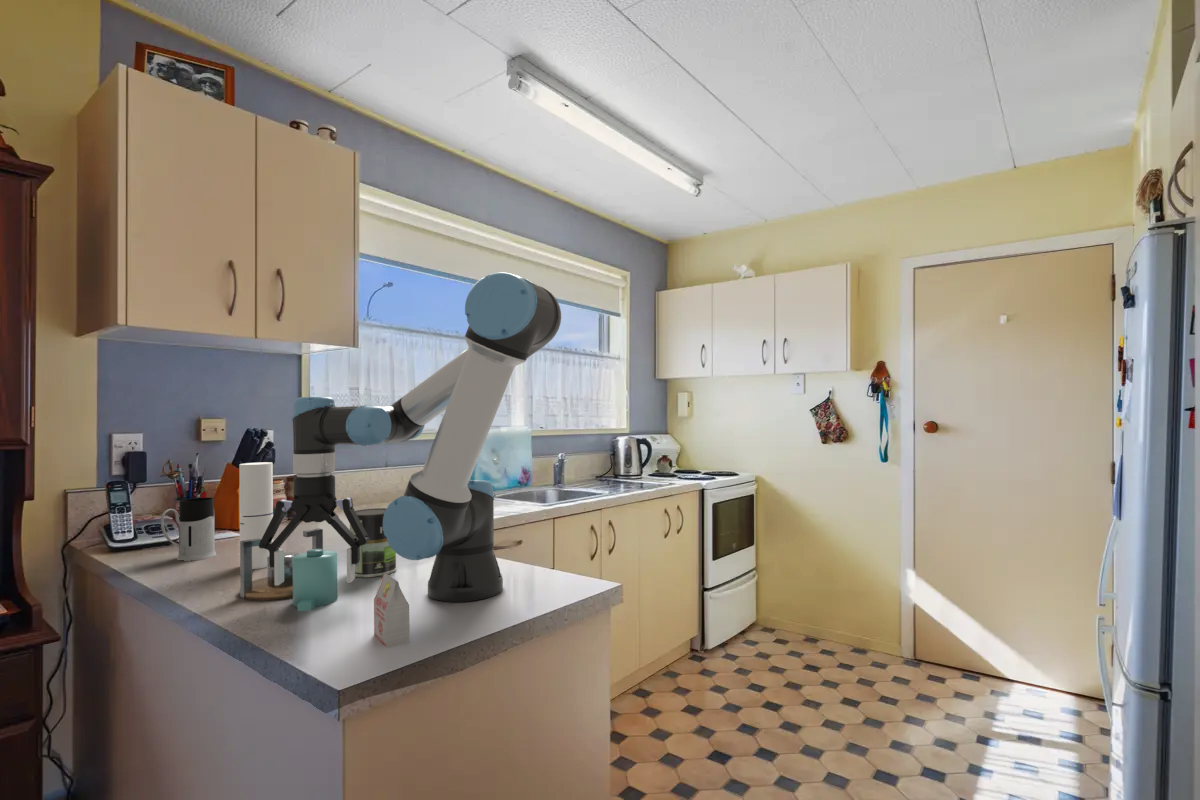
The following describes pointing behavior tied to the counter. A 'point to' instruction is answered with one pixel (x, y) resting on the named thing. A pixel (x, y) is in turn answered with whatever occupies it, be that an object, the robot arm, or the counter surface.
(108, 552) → the counter surface
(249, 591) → the post fixture
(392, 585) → the milk carton
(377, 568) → the coffee can
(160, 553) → the counter surface
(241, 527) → the cylindrical container
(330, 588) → the teal plastic cylinder
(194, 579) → the counter surface
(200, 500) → the white and black mug
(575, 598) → the counter surface
